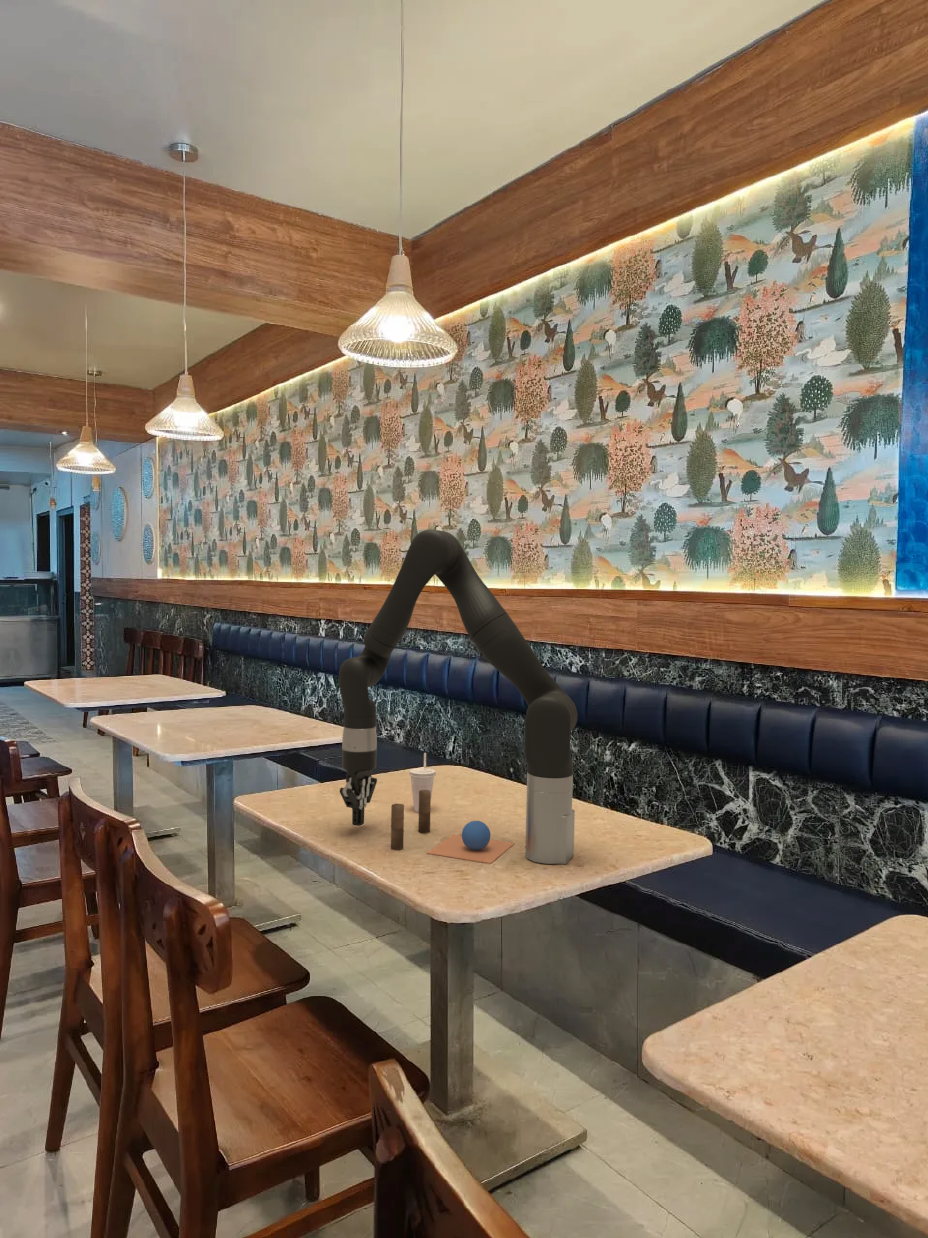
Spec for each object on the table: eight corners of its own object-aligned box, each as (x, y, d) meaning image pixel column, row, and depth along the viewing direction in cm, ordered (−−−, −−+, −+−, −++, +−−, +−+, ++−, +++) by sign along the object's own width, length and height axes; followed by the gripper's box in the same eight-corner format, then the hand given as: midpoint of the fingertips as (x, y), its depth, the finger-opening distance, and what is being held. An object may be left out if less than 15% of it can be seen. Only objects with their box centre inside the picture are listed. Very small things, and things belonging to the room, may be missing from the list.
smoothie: (431, 814, 202) (432, 756, 202) (405, 812, 204) (406, 754, 203) (437, 807, 208) (438, 751, 208) (412, 806, 210) (413, 749, 209)
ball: (479, 811, 179) (463, 831, 181) (468, 818, 174) (451, 839, 176) (500, 831, 178) (483, 851, 179) (489, 839, 172) (472, 860, 174)
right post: (431, 830, 189) (432, 790, 189) (426, 834, 187) (427, 793, 187) (421, 829, 190) (422, 789, 190) (416, 832, 188) (417, 792, 188)
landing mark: (514, 844, 181) (514, 843, 181) (490, 864, 168) (490, 863, 168) (453, 835, 186) (453, 834, 186) (426, 853, 174) (426, 852, 173)
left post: (405, 847, 177) (406, 804, 177) (399, 851, 175) (400, 807, 174) (394, 845, 178) (395, 803, 178) (388, 849, 176) (389, 806, 176)
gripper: (359, 754, 179) (358, 835, 180) (388, 743, 191) (387, 819, 192) (328, 750, 182) (327, 830, 183) (359, 740, 194) (358, 815, 195)
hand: (358, 824), depth 188 cm, fingers closed
